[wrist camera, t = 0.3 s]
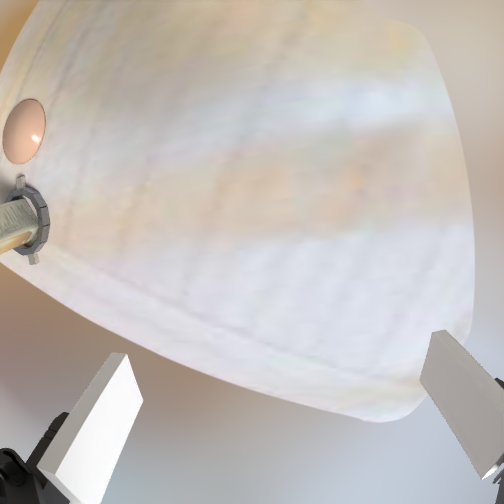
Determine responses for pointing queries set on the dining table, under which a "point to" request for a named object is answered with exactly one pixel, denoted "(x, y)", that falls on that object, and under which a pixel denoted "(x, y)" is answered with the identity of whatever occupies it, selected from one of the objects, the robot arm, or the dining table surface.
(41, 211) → the bayonet collar
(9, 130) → the peach dome button
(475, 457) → the robot arm
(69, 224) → the dining table surface
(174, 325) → the dining table surface
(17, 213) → the skincare box
